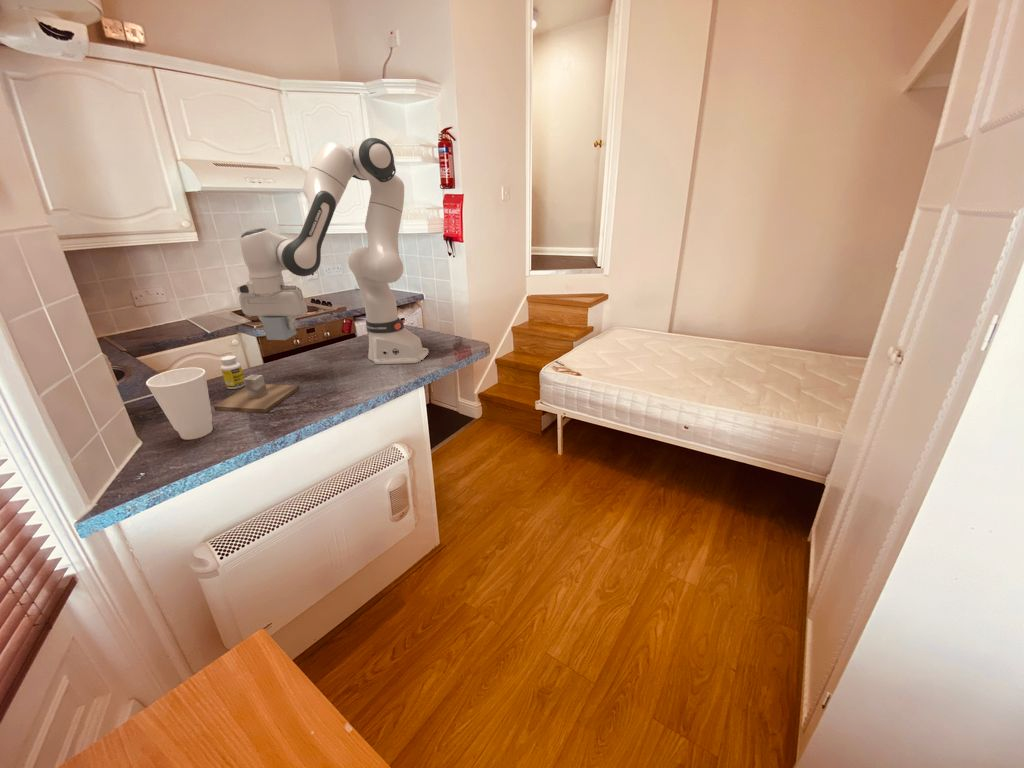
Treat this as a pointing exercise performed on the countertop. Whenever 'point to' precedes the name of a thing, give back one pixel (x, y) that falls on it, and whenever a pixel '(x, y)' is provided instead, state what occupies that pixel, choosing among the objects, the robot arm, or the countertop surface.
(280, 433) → the countertop surface
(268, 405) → the post base
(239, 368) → the supplement bottle
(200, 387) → the cup
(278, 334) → the pale grey cube
